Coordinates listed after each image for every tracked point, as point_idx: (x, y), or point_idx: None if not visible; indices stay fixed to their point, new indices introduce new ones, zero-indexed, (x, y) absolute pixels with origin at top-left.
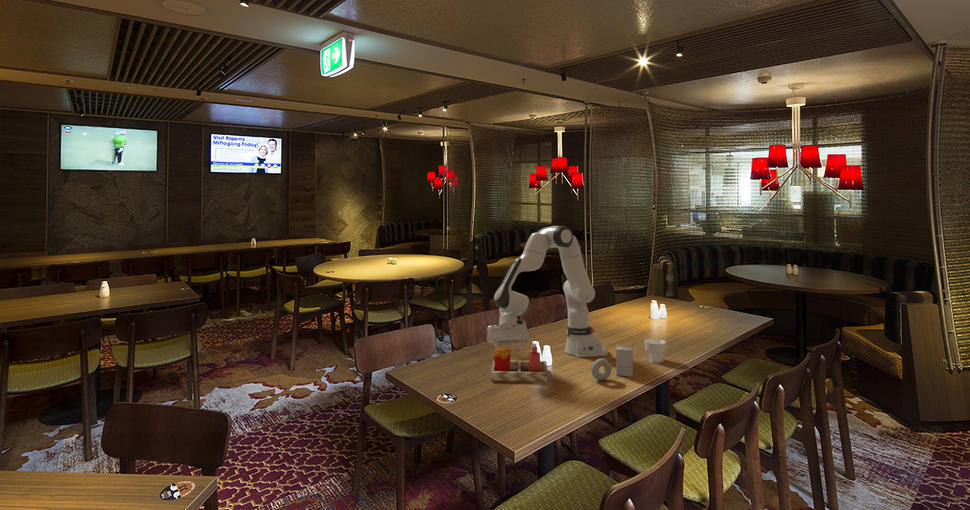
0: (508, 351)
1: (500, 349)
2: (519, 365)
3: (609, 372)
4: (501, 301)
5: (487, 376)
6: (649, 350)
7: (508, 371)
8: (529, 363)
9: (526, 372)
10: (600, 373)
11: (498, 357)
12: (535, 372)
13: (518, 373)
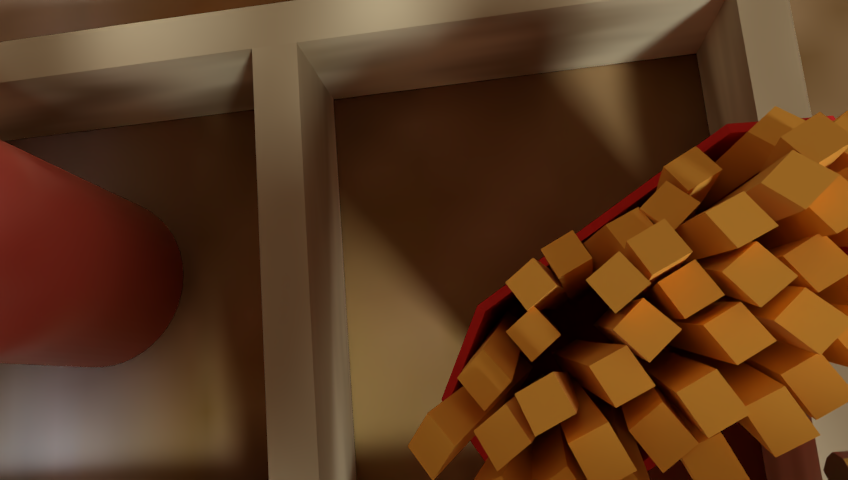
0: (495, 360)
1: (770, 221)
2: (286, 365)
3: None
4: None
5: None
6: None
7: (457, 18)
8: (40, 179)
9: (151, 29)
10: None
11: (739, 129)
12: (11, 57)
13: (286, 9)
